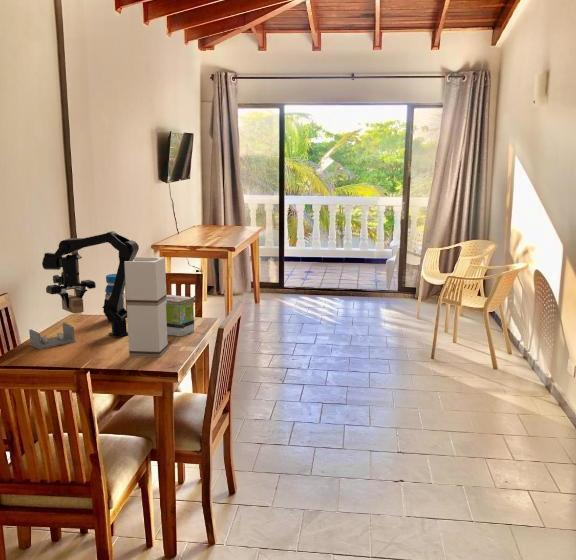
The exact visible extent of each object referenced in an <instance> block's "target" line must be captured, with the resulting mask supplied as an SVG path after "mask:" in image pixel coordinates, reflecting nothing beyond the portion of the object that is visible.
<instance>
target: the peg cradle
mask: <svg viewBox="0 0 576 560" xmlns="http://www.w3.org/2000/svg"><path fill="white" fill-rule="evenodd" d="M28 332H29V333H28V334H29V345H30V346H32V347H34V348H36V349H38V350H43V349H48V348H52V347H57V346H61V345H66V344H72V343H76V339H75V329H74V326H72V325H71V324H68V323H66V322H62V332H63V333H62V332H57V333H56V336H54V337H50V338H48V336H44V335H41V333H40V332H38V331H36V330H33V329H28Z"/></svg>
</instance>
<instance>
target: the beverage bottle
mask: <svg viewBox="0 0 576 560" xmlns="http://www.w3.org/2000/svg"><path fill="white" fill-rule="evenodd" d="M116 274H117V273H111V274H110V273H109V274H106V277H105V280H106V284H107V285H106V287H105V288H104V289H105V290H104V293H105V295H104V299H105V298H107V297H109V296H111V294H112V290H113V286H114V282H115V278H116ZM125 295H126V293H125V291H124V292H123V302H124V303H123V308H124V309H125V310H126V308H125V307H126V304H125V298H126V297H125ZM106 319H107V320H108V318H107V317H106Z"/></svg>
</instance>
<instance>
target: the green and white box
mask: <svg viewBox="0 0 576 560" xmlns="http://www.w3.org/2000/svg"><path fill="white" fill-rule="evenodd" d="M166 295H167V303H166V319H167V336H176V337H184V336H186V335H189V334H191V333H193V332H195V311H194V297H193V296H185V295H184V296H183V295H173V294H166Z"/></svg>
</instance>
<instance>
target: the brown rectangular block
mask: <svg viewBox="0 0 576 560" xmlns="http://www.w3.org/2000/svg"><path fill="white" fill-rule="evenodd" d="M68 297H69V308H68V309H67V308H66V306H65V304H64V301H63V299H62V298H61V308H62V310H64V311H66V312H70V313H72V314H75V315H76V314H81V313H84V299H83V297H82V298H79V297H76V295H73V294H68Z"/></svg>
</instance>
